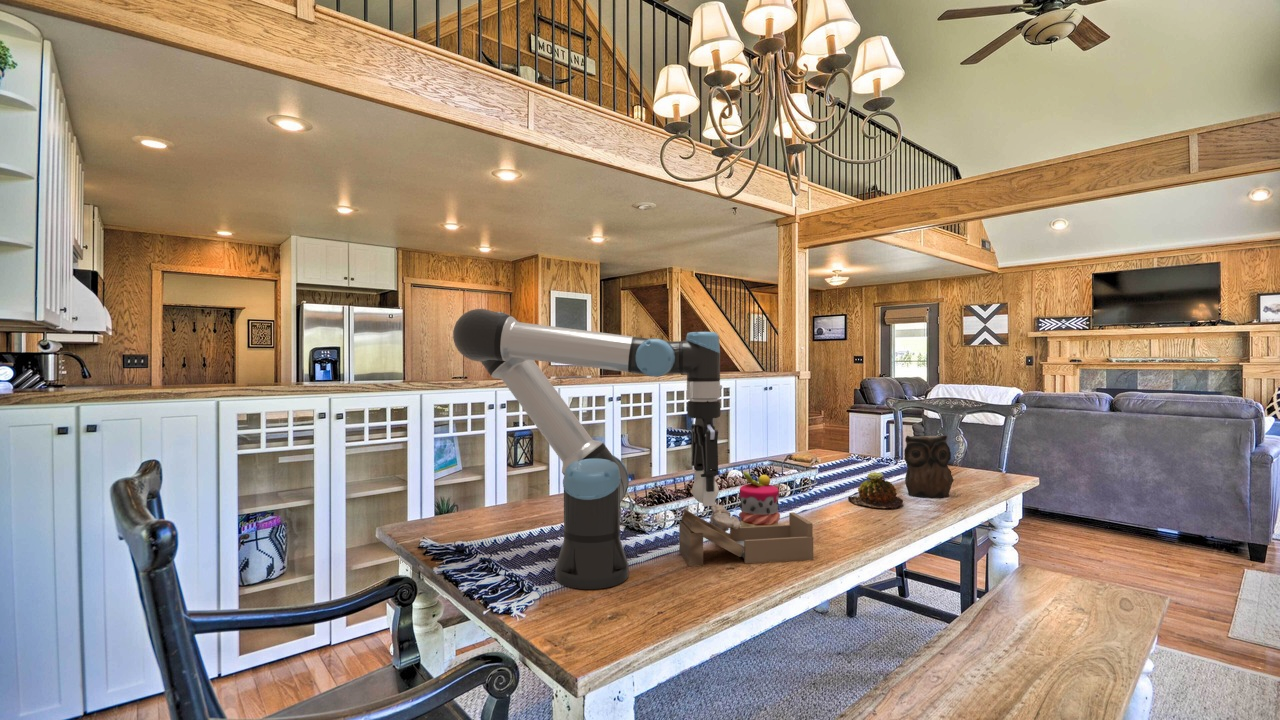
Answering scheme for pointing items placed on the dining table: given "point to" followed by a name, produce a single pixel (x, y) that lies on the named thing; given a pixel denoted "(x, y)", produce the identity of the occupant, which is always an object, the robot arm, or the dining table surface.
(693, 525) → the ramp
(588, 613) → the dining table surface
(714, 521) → the rock
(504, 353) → the robot arm
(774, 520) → the cake
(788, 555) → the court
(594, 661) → the dining table surface
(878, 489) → the cactus
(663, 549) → the dining table surface
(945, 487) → the dark brown owl statuette
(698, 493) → the ball
